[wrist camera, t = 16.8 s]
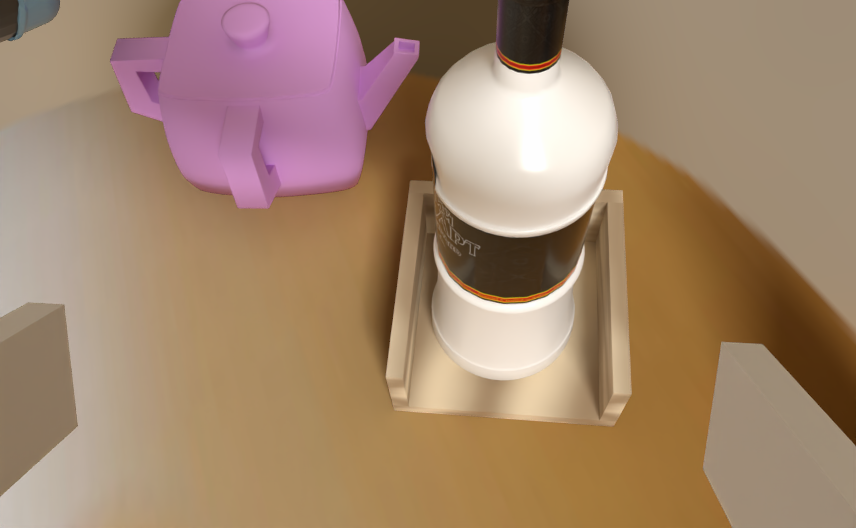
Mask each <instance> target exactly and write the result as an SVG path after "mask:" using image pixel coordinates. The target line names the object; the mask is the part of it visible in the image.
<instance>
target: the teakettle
mask: <svg viewBox="0 0 856 528" xmlns="http://www.w3.org/2000/svg"><path fill="white" fill-rule="evenodd" d="M419 43H420V42H419V41H416V40H408V39H401V38H395V39H394V41H393V42H392V43H391V44H390V45H389V46H388V47H387V48H385V49H384V50H383V51H382V52H381V53H380V54H378V55H377V56H376V57H375V58H374V59H373V60H372V61H370V62H369V63H368V64H367V62H366V58H365V54H364V51H363V47H362V43H361V40H360V37H359V34H358V32H357V29H356V26H355V24H354V22H353V20H352V17H351V15H350V13H349V11H348V9H347V7H346V4H345V2H344V1H343V0H181V1H180V2H179V5H178V8H177V10H176V14H175V17H174V21H173V24H172V28H171V31H170V35H169V37H147V38H123V39H117V41H116V44H115V47H114V50H113V53H112V56H111V59H110V63H111V65H112V67H113V70H114V72H115V74H116V77H117V79H118V81H119V84H120V86H121V89H122V91H123V93H124V96H125V98H126V100H127V103H128V105H129V107H130V110H131V112H134V113H137V114H140V115H143V116H146V117H150V118H153V119H156V120H159V121H162V122H163V125H164V129H165V133H166V137H167V140H168V143H169V146H170V149H171V152H172V154H173V157H174V159H175V161H176V164H177V166H178V168H179V170H180V172H181V173H182V175H183V176H184V177H185V178H186V180H188V181H189V182H190V183H191V184H193V185H194V186H195V187H197V188H199V189H200V190H202V191H206V192H210V193H217V194H226V195H233V197H234V199H235V202H236V204H237V207H238V208H269V207H270V205H271V203H272V201H273V199H274V197H287V196H300V195H311V194H321V193H329V192H336V191H342V190H346V189H350V188H352V187H354V186H355V185H356V184H357V183H358V181H359V178H360V175H361V172H362V167H363V161H364V155H365V149H366V141H367V132H368V130H371V129H372V127H373V126H374V124H375V123H376V121H377V120H378V118H379V117H380V115H381V114H382V112H383V111H384V109H385V108H386V106H387V105H388V103H389V102H390V100H391V99H392V97H393V96H394V94H395V93H396V91H397V90H398V88H399V87H400V85H401V84H402V82H403V81H404V79H405V78H406V76H407V75H408V73H409V72H410V70H411V69H412V67H413V66H414V64H415V62H416V61H417V60H418V57H419ZM154 72H160V77H159V80H158V79H157V77H156V75H155V73H154Z"/></svg>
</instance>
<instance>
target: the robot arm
mask: <svg viewBox="0 0 856 528" xmlns="http://www.w3.org/2000/svg"><path fill="white" fill-rule="evenodd" d="M59 7H60V0H0V42H2V41H5V40H9V41H12V40H16V39H19V38H20V37H21V36H22V35H23V33H25V32H28V31H30V30H32V29H34V28H37V27H39V26H41V25H43V24H46V23H48V22H49V21H51V20H52V19H53V18H54V17H55V16H56V15H57V13H58V10H59ZM77 426H78V424H77V415H76V406H75V397H74V388H73V379H72V370H71V361H70V352H69V343H68V334H67V325H66V316H65V307H64V305H63V304H45V303H27V304H25V305H23V306H21V307H19V308H17V309H16V310H14V311H12V312H10V313H8V314H6V315H5V316H3V317H1V318H0V496H1V495H3V494H4V493H5V492H6V491H7V490H8V489H9V488H10V487H11V486H12V485H13V484H15V483H16V482H17V481H18V480H19V479H20V478H21V477H22V476H23V475H24V474H26V473H27V472H28V471H29V470H30V469H31V468H32V467H33V466H34V465H35V464H37V463H38V462H39V461H40V460H41V459H42V458H43V457H44V456H45V455H46V454H48V453H49V452H50V451H51V450H52V449H53V448H54V447H55V446H56V445H57V444H59V443H60V442H61V441H62V440H63V439H64V438H65V437H66V436H67V435H68V434H70V433H71V432H72V431H73V430H74V429H75V428H76V427H77ZM703 470H704V472H705V474H706V476H707V478H708V480H709V482H710V484H711V486H712V488H713V490H714V492H715V494H716V496H717V498H718V500H719V502H720V504H721V506H722V508H723V510H724V512H725V514H726V516H727V518H728V520H729V522H730V524H731V526H732V528H856V446H855V445H854V444H853V442H852V441H851V440H850V439H849V438H848V437H847V436H846V435H845V434H844V433H843V431H842V430H841V429H840V428H839V427H838V426H837V425H836V424H835V423H834V422H833V421H832V419H831V418H830V417H829V416H828V415H827V414H826V413H825V412H824V411H823V410H822V409H821V407H820V406H819V405H818V404H817V403H816V402H815V401H814V400H813V399H812V398H811V396H810V395H809V394H808V393H807V392H806V391H805V390H804V389H803V388H802V387H801V386H800V384H799V383H798V382H797V381H796V380H795V379H794V378H793V377H792V376H791V375H790V374H789V372H788V371H787V370H786V369H785V368H784V367H783V366H782V365H781V364H780V363H779V362H778V360H777V359H776V358H775V357H774V356H773V355H772V354H771V353H770V352H769V351H768V349H767V348H766V347H765V346H764V345H763V344H751V343H733V342H722V343H721V350H720V356H719V363H718V370H717V377H716V384H715V390H714V397H713V404H712V411H711V417H710V424H709V431H708V438H707V444H706V451H705V458H704V465H703Z"/></svg>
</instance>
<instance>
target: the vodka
mask: <svg viewBox="0 0 856 528" xmlns="http://www.w3.org/2000/svg"><path fill="white" fill-rule="evenodd" d="M568 5H569V0H498V14H497V34H496V43H492V44H488V45H486V46H483V47H481V48H479V49H476V50H474V51H472V52H471V53H469V54H468V55H466V56H465V57H463V58H462V59H461V60H459V61H458V62H456V63H455V64H454V65H453V66H452V67H451V68H450V69H449V70H448V71H447V72H446V73H445V74H444V75H443V77H442V78H441V80H440V82H439V83H438V85H437V87H436V89H435V91H434V93H433V95H432V97H431V100H430V103H429V106H428V110H427V115H426V119H425V127H426V138H427V141H428V144H429V147H430V149H431V162H432V178H433V194H434V210H435V226H436V232H435V236H434V243H433V251H434V258H435V262H436V266H437V268H438V279H437V283H436V285H435V288H434V291H433V296H432V305H431V308H432V324H433V329H434V333H435V335H436V338H437V340H438V342H439V344H440V346H441V348H442V349H443V350H444V352H445V353H446V354H447V355H448V357H449V358H450V359H451V360H452V361H454V362H455V363H456V364H457V365H459V366H460V367H461V368H463V369H465V370H466V371H468V372H470V373H472V374H475V375H477V376H480V377H483V378H487V379H492V380H515V379H521V378H525V377H528V376H531V375H534V374H536V373H538V372H540V371H542V370H543V369H545V368H546V367H548V366H549V365H550V364H552V363H553V362H554V361H555V360H556V359H557V358H558V357H559V355H560V354H561V353H562V351H563V350H564V348H565V346H566V345H567V342H568V340H569V338H570V334H571V331H572V327H573V322H574V315H575V304H574V298H573V285H574V283H575V281H576V280H577V278H578V276H579V274H580V272H581V269H582V266H583V262H584V256H585V246H584V242H585V238H586V234H587V231H588V227H589V223H590V219H591V216H592V212H593V208H594V204H595V201H596V199H597V198H598V196H599V195H600V193H601V191H602V189H603V186H604V183H605V180H606V176H607V168H608V165H609V162H610V159H611V157H612V154H613V151H614V149H615V145H616V142H617V131H618V122H617V116H616V112H615V108H614V103H613V99H612V95H611V93H610V91H609V89H608V87H607V85H606V83H605V82H604V80H603V79H602V77H601V76H600V75H599V74H598V73H597V72H596V71H595V70H594V69H593V68H592V67H591V65H590V64H589V63H588V62H586V61H585V60H584V59H582V58H581V57H579V56H578V55H577V54H575V53H574V52H571V51H569V50H567V49H565V48H563V47H562V45H563V38H564V31H565V25H566V18H567V12H568Z"/></svg>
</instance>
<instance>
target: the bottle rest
mask: <svg viewBox="0 0 856 528" xmlns="http://www.w3.org/2000/svg"><path fill="white" fill-rule="evenodd" d="M435 232H436V226H435V210H434V194H433V181H418V180H410V186H409V194H408V202H407V210H406V218H405V226H404V234H403V242H402V250H401V258H400V266H399V275H398V283H397V291H396V299H395V307H394V315H393V323H392V331H391V339H390V347H389V355H388V363H387V371H386V380H387V384H388V388H389V392H390V396H391V400H392V404H393V408H394V410H396V411H410V412H423V413H437V414H450V415H464V416H478V417H491V418H505V419H518V420H532V421H545V422H559V423H572V424H586V425H599V426H614V424H615V423H616V421H617V419H618V417H619V416H620V414H621V412H622V410H623V408H624V407H625V405H626V403H627V401H628V400H629V398H630V396H631V394H632V392H631V370H630V347H629V325H628V302H627V280H626V257H625V235H624V212H623V190H603V189H602V191H601V193H600V195H599V196H598V198H597V199H596V201H595V204H594V208H593V212H592V216H591V219H590V223H589V227H588V231H587V234H586V238H585V242H584V246H585V256H584V262H583V266H582V269H581V272H580V274H579V276H578V278H577V280H576V281H575V283H574V285H573V298H574V304H575V315H574V322H573V327H572V331H571V334H570V338H569V340H568V342H567V345H566V346H565V348H564V350H563V351H562V353H561V354H560V355H559V357H558V358H557V359H556V360H555V361H554V362H553V363H552V364H550V365H549V366H548V367H546V368H545V369H543V370H542V371H540V372H538V373H536V374H534V375H531V376H528V377H525V378H521V379H515V380H492V379H487V378H483V377H480V376H477V375H475V374H472V373H470V372H468V371H466V370H465V369H463V368H461V367H460V366H459V365H457V364H456V363H455V362H454V361H452V360H451V359H450V358H449V357H448V355H447V354H446V353H445V352H444V350H443V349H442V348H441V346H440V344H439V342H438V340H437V338H436V335H435V333H434V329H433V324H432V308H431V305H432V296H433V291H434V288H435V285H436V283H437V279H438V268H437V266H436V262H435V258H434V251H433V243H434V236H435Z"/></svg>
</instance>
